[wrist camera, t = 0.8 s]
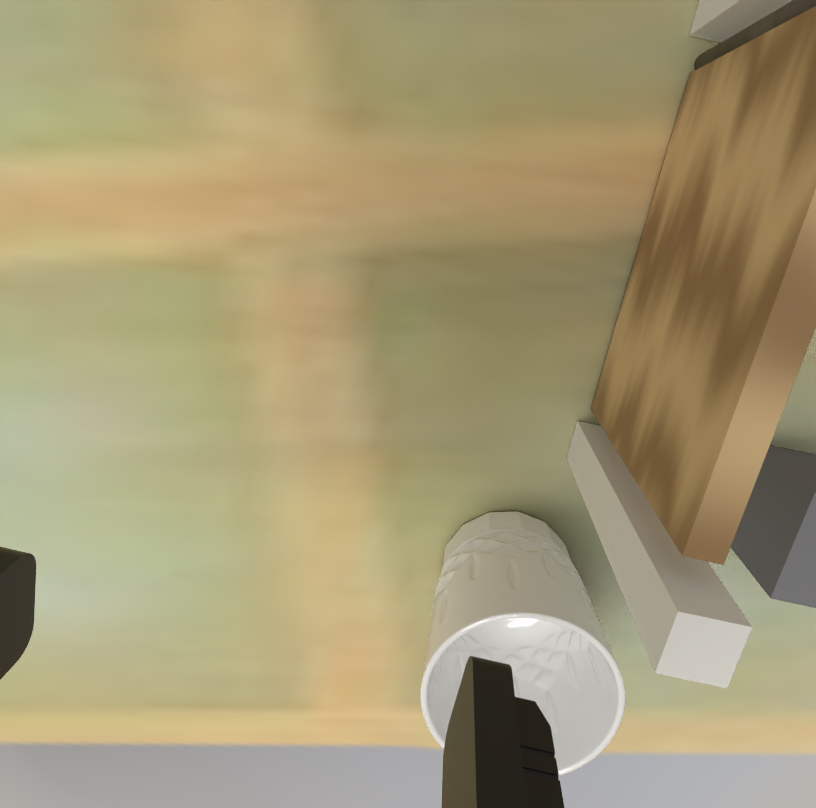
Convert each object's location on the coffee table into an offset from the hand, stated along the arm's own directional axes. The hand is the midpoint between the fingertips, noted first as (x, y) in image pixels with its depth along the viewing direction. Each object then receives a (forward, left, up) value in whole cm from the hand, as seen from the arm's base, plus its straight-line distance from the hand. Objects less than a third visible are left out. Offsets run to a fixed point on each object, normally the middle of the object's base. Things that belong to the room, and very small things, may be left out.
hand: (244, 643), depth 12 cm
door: (-8, +12, -22) cm, 26 cm away
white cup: (+10, +9, -22) cm, 26 cm away
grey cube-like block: (+3, +21, -22) cm, 31 cm away
